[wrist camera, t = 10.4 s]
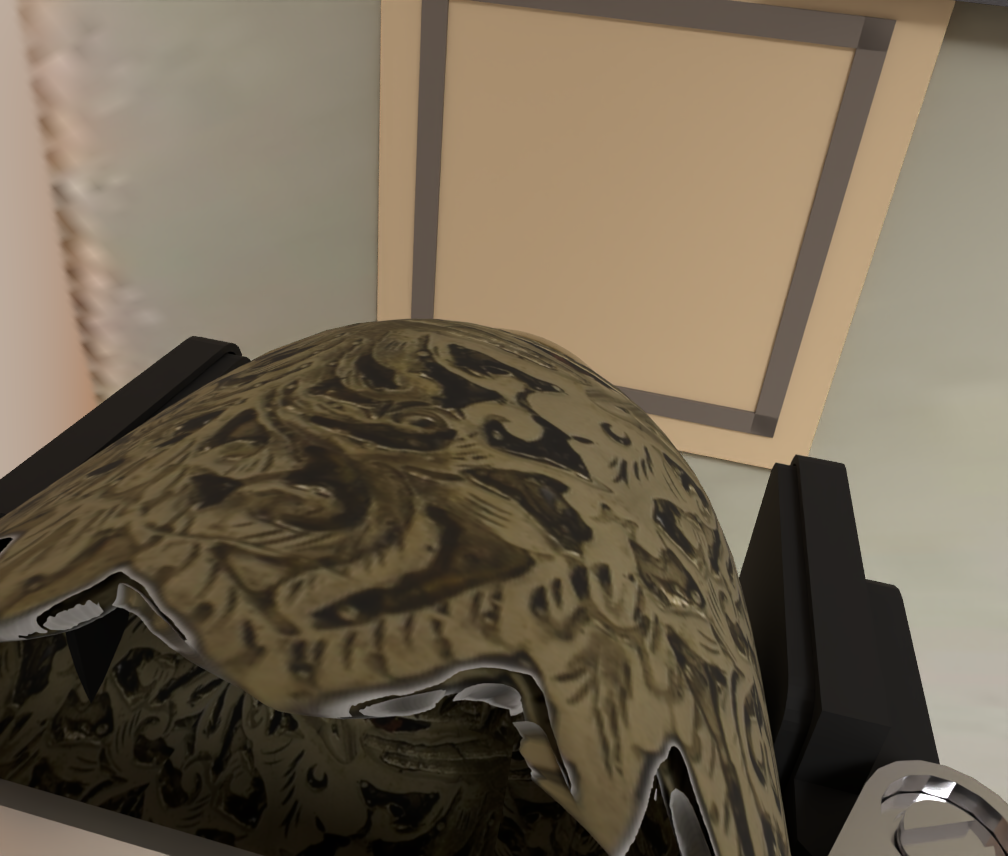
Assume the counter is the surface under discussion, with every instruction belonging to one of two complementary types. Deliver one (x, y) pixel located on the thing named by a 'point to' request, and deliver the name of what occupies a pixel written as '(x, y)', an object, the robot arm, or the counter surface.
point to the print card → (653, 189)
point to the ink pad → (988, 2)
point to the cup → (395, 615)
